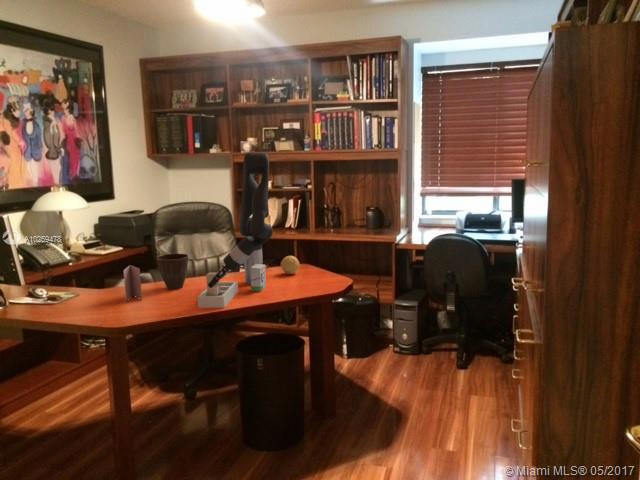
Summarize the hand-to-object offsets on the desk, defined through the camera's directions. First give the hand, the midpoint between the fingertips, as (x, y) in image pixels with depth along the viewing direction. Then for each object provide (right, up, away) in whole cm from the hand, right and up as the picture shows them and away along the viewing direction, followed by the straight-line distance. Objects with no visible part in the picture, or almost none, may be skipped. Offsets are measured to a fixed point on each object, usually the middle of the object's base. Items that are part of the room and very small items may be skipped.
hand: (211, 285), depth 235 cm
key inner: (+2, -3, +17) cm, 18 cm away
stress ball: (+32, +1, +56) cm, 64 cm away
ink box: (+18, -4, +25) cm, 31 cm away
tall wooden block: (+1, -5, +1) cm, 5 cm away
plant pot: (-24, -4, +33) cm, 41 cm away
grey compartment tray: (+2, -7, +10) cm, 12 cm away
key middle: (+2, -5, +9) cm, 10 cm away
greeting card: (-38, -8, +15) cm, 41 cm away
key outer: (+1, -6, +1) cm, 6 cm away
